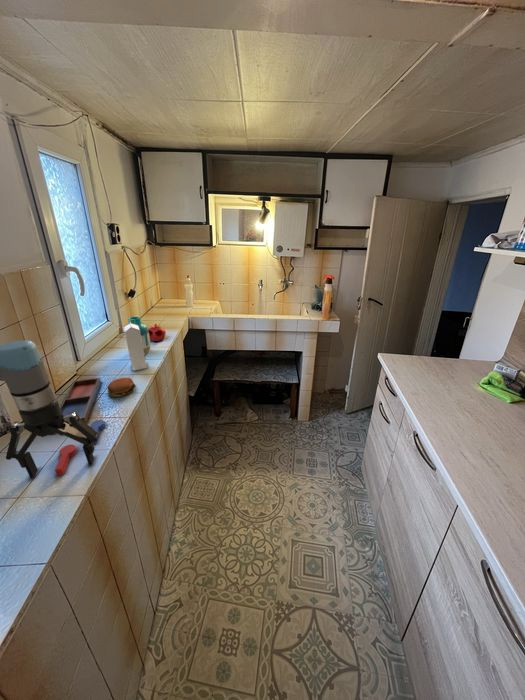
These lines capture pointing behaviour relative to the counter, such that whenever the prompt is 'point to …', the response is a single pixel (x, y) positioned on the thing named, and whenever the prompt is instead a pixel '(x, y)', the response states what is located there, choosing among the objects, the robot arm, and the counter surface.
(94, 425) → the blue spoon
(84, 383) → the tray
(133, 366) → the milk
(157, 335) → the pomegranate
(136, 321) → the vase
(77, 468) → the counter surface
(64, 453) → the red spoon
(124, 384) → the burger
